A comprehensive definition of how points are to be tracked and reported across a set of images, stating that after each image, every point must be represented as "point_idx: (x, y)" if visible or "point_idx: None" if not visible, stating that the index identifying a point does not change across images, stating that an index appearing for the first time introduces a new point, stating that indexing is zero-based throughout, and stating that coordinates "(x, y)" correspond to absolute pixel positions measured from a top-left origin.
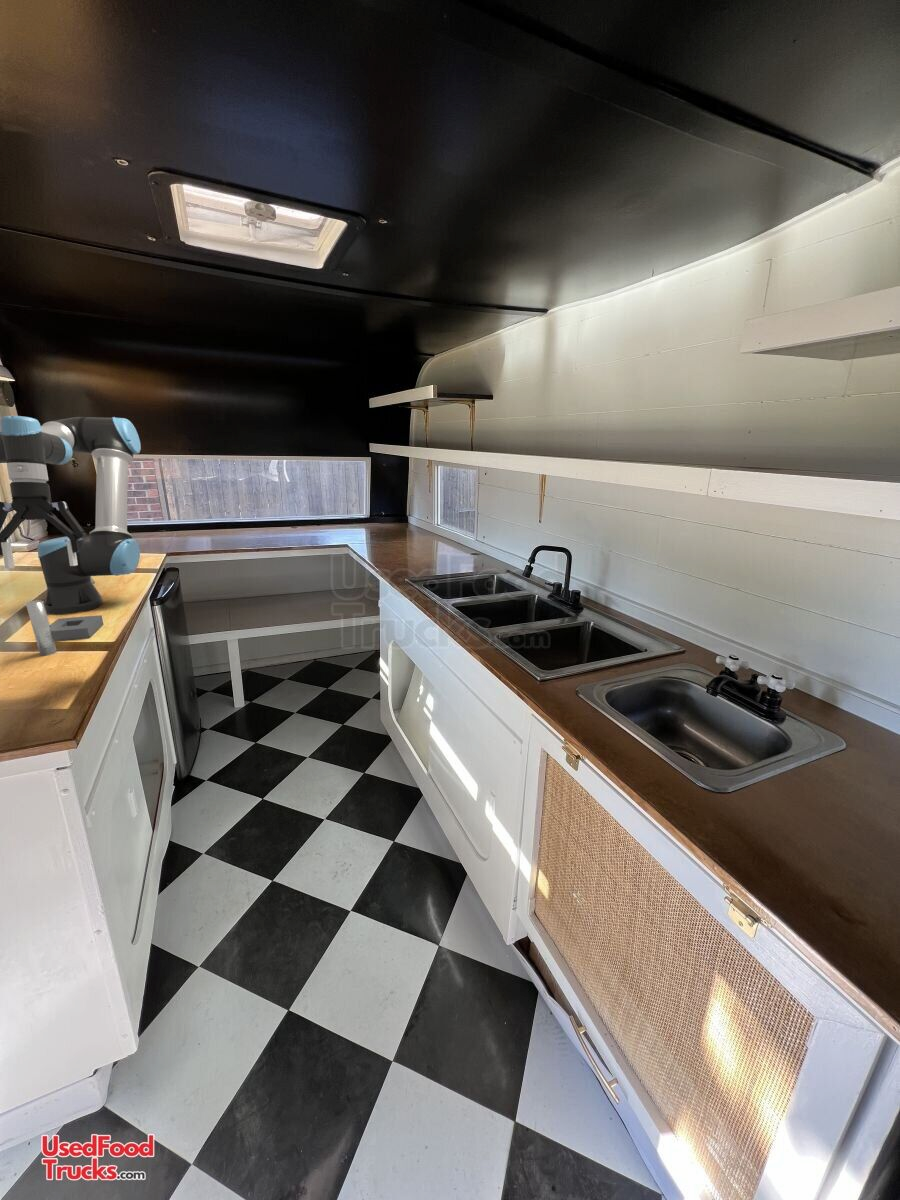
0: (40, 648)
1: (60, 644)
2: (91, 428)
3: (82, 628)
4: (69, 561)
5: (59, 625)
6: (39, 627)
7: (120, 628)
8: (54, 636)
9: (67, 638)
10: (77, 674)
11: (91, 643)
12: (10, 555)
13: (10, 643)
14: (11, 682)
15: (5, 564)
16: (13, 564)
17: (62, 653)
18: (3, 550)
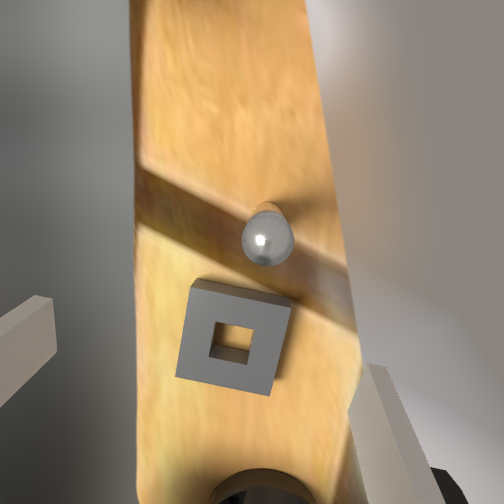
0: (276, 206)
1: (251, 265)
2: None
3: (200, 289)
4: (29, 314)
5: (257, 340)
6: (267, 207)
7: (140, 315)
8: (264, 296)
9: (240, 288)
10: (180, 30)
11: (186, 238)
12: (376, 472)
13: (354, 324)
14: (309, 51)
15: (390, 386)
16: (354, 423)
17: (236, 198)
18: (431, 490)
